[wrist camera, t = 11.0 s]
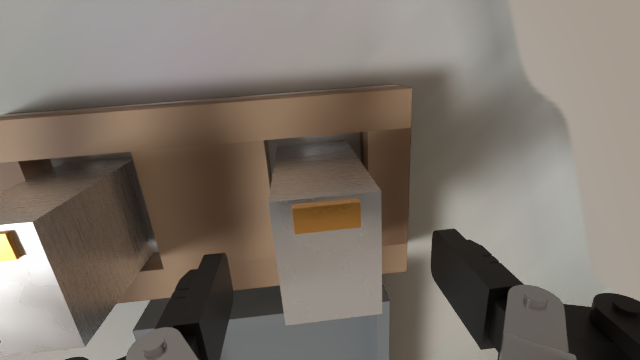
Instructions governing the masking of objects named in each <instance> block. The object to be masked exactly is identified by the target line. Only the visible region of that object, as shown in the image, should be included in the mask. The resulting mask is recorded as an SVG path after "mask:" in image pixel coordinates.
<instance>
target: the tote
mask: <svg viewBox="0 0 640 360" xmlns="http://www.w3.org/2000/svg"><path fill="white" fill-rule="evenodd" d="M170 298H171V297H170ZM170 298H161V299H152V300H150V302H149V304H148V306H147V307H146V309H145V311H144V312H143V314H142V316H141V317H140V319H139V321H138V323H137V324H136V326H135V328H134V329H133V333H134V336H135V339H136V340H138V339H139V338H140V337H141V336H143V335H145V334H146V333H148V332H150V331H152V330H154V329H155V327H156V325H157V323H158V321H159V319H160V317H161V315H162V313H163V311H164V309H165V308H166V306H167V304H168V302H169V300H170ZM389 321H390V301H389V298H388V296H387V293H386V291H385V289H384V286H383V284H382V314H376V315H368V316H360V317H352V318H343V319H335V320H327V321H319V322H311V323H302V324H294V325H285V318H284V311H283V304H282V297H281V290H280V285H279V286H270V287H261V288H252V289H243V290H234V291H233V305H232V309H231V314H230V318H229V322H228V327H227V331H226V335H225V339H224V344H223V348H222V352H221V357H220V360H389Z"/></svg>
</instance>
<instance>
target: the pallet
mask: <svg viewBox="0 0 640 360" xmlns="http://www.w3.org/2000/svg"><path fill="white" fill-rule="evenodd" d="M411 112H412V88H408V87H404V86H399V85H395V84H393V85H380V86H367V87H354V88H341V89H328V90H315V91H303V92H290V93H277V94H264V95H251V96H238V97H225V98H212V99H199V100H186V101H173V102H161V103H148V104H135V105H122V106H109V107H96V108H83V109H70V110H57V111H44V112H31V113H19V114H6V115H0V191H2V190H5V189H7V188H9V187H11V186H14V185H16V184H18V183H20V182H23V181H25V180H27V179H29V178H31V177H34V176H36V175H38V174H40V173H43V172H45V171H47V170H49V169H52V168H54V167H56V166H58V165H61V164H63V163H67V162H78V161H90V160H102V159H113V158H125V157H133V161H134V164H135V168H136V172H137V175H138V179H139V182H140V186H141V189H142V193H143V196H144V200H145V204H146V207H147V211H148V214H149V218H150V221H151V225H152V229H153V232H154V236H155V239H156V243H157V248H156V249H155V251H154V252H153V253H152V255H151V256H150V258H149V259H148V260H147V262H146V263H145V265H144V266H143V267H142V269H141V270H140V271H139V273H138V274H137V276H136V277H135V278H134V280H133V281H132V283H131V284H130V285H129V287H128V288H127V289H126V291H125V292H124V294H123V295H122V296H121V298H120V299H119V301H118V302H117V303H125V302H134V301H143V300H152V299H161V298H170V297H171V296H172V294H173V292H174V291H175V288H176V286H177V284H178V282H179V280H180V279H181V278H182V277H183V276H184V275H185V274H186V273H187V272H188V271H189V270H192V269H198V267H199V265H200V263H201V260H202V258H203V256H204V255H206V254H216V253H226V255H227V259H228V264H229V269H230V275H231V280H232V285H233V291H234V290H243V289H252V288H261V287H270V286H279V285H280V283H279V276H278V269H277V262H276V255H275V248H274V241H273V234H272V227H271V219H270V212H269V205H268V200H269V194H270V188H271V181H272V175H273V169H274V163H275V157H276V150H277V146H284V145H295V144H306V143H317V142H328V141H339V140H346V141H347V143H348V144H349V146H350V147H351V148H352V150H353V151H354V153H355V154H356V156H357V157H358V158H359V160H360V161H361V163H362V164H363V166H364V167H365V168H366V170H367V171H368V173H369V174H370V176H371V177H372V178H373V180H374V181H375V183H376V184H377V186H378V187H379V188H380V190H381V217H382V274H387V273H396V272H405V271H407V241H408V209H409V176H410V144H411Z"/></svg>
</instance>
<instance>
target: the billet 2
mask: <svg viewBox="0 0 640 360" xmlns="http://www.w3.org/2000/svg"><path fill="white" fill-rule="evenodd" d="M268 205H269V212H270V219H271V227H272V234H273V241H274V248H275V255H276V262H277V269H278V276H279V283H280V290H281V297H282V304H283V311H284V318H285V325H294V324H302V323H311V322H319V321H327V320H335V319H343V318H352V317H360V316H368V315H376V314H382V217H381V190H380V188H379V187H378V186H377V184H376V183H375V181H374V180H373V178H372V177H371V176H370V174H369V173H368V171H367V170H366V168H365V167H364V166H363V164H362V163H361V161H360V160H359V158H358V157H357V156H356V154H355V153H354V151H353V150H352V148H351V147H350V146H349V144H348V143H347V141H346V140H339V141H328V142H317V143H306V144H295V145H284V146H277V150H276V157H275V163H274V169H273V175H272V181H271V188H270V194H269V200H268Z"/></svg>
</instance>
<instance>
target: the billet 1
mask: <svg viewBox="0 0 640 360" xmlns="http://www.w3.org/2000/svg"><path fill="white" fill-rule="evenodd" d="M156 248H157V243H156V239H155V236H154V232H153V229H152V225H151V221H150V218H149V214H148V211H147V207H146V204H145V200H144V196H143V193H142V189H141V186H140V182H139V179H138V175H137V172H136V168H135V164H134V161H133V157H125V158H113V159H102V160H90V161H78V162H67V163H63V164H61V165H58V166H56V167H54V168H52V169H49V170H47V171H45V172H43V173H40V174H38V175H36V176H34V177H31V178H29V179H27V180H25V181H23V182H20V183H18V184H16V185H14V186H11V187H9V188H7V189H5V190H2V191H0V357H4V356H12V355H21V354H29V353H38V352H47V351H55V350H64V349H72V348H81V347H85V346H86V345H87V344H88V342H89V341H90V339H91V338H92V337H93V335H94V334H95V332H96V331H97V330H98V328H99V327H100V326H101V324H102V323H103V321H104V320H105V319H106V317H107V316H108V314H109V313H110V312H111V310H112V309H113V308H114V306H115V305H116V303H117V302H118V301H119V299H120V298H121V296H122V295H123V294H124V292H125V291H126V289H127V288H128V287H129V285H130V284H131V283H132V281H133V280H134V278H135V277H136V276H137V274H138V273H139V271H140V270H141V269H142V267H143V266H144V265H145V263H146V262H147V260H148V259H149V258H150V256H151V255H152V253H153V252H154V251H155V249H156Z"/></svg>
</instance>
